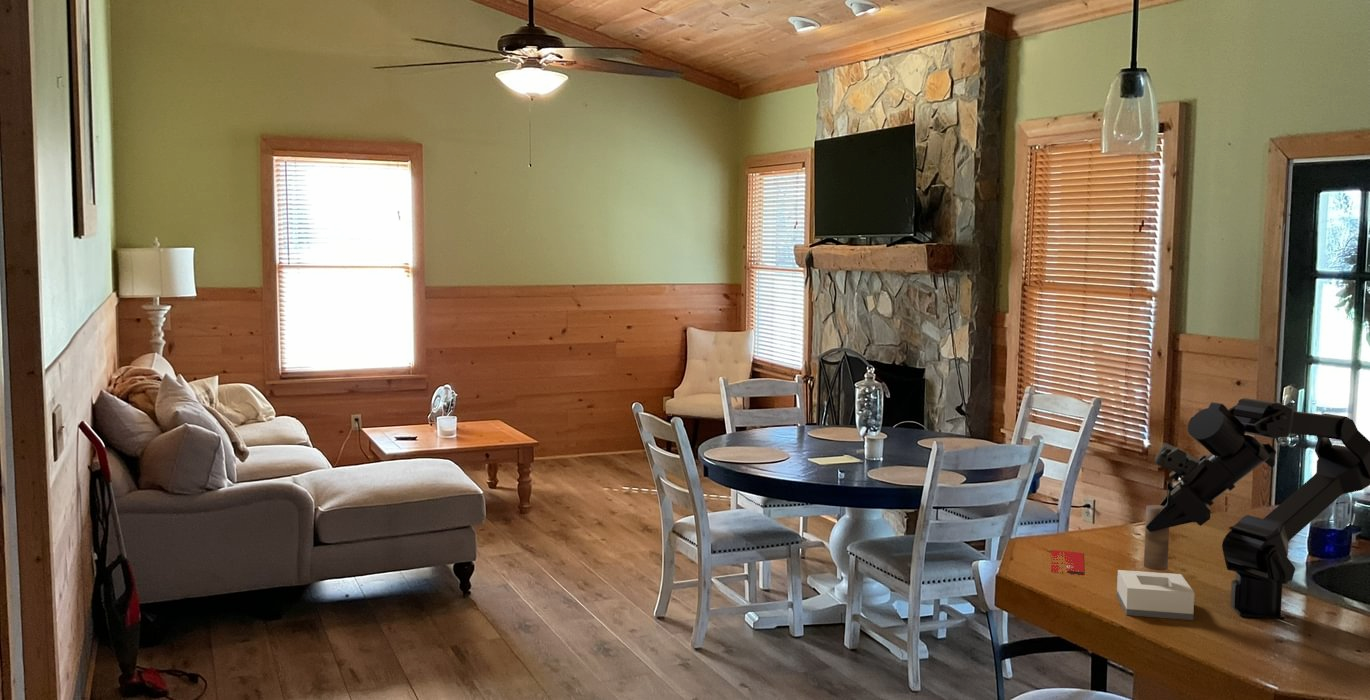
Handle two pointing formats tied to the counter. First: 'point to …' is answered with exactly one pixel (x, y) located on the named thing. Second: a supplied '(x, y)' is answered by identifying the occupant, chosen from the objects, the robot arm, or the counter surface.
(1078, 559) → the electronic device
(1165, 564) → the walnut pin
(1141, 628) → the counter surface
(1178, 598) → the bore block
